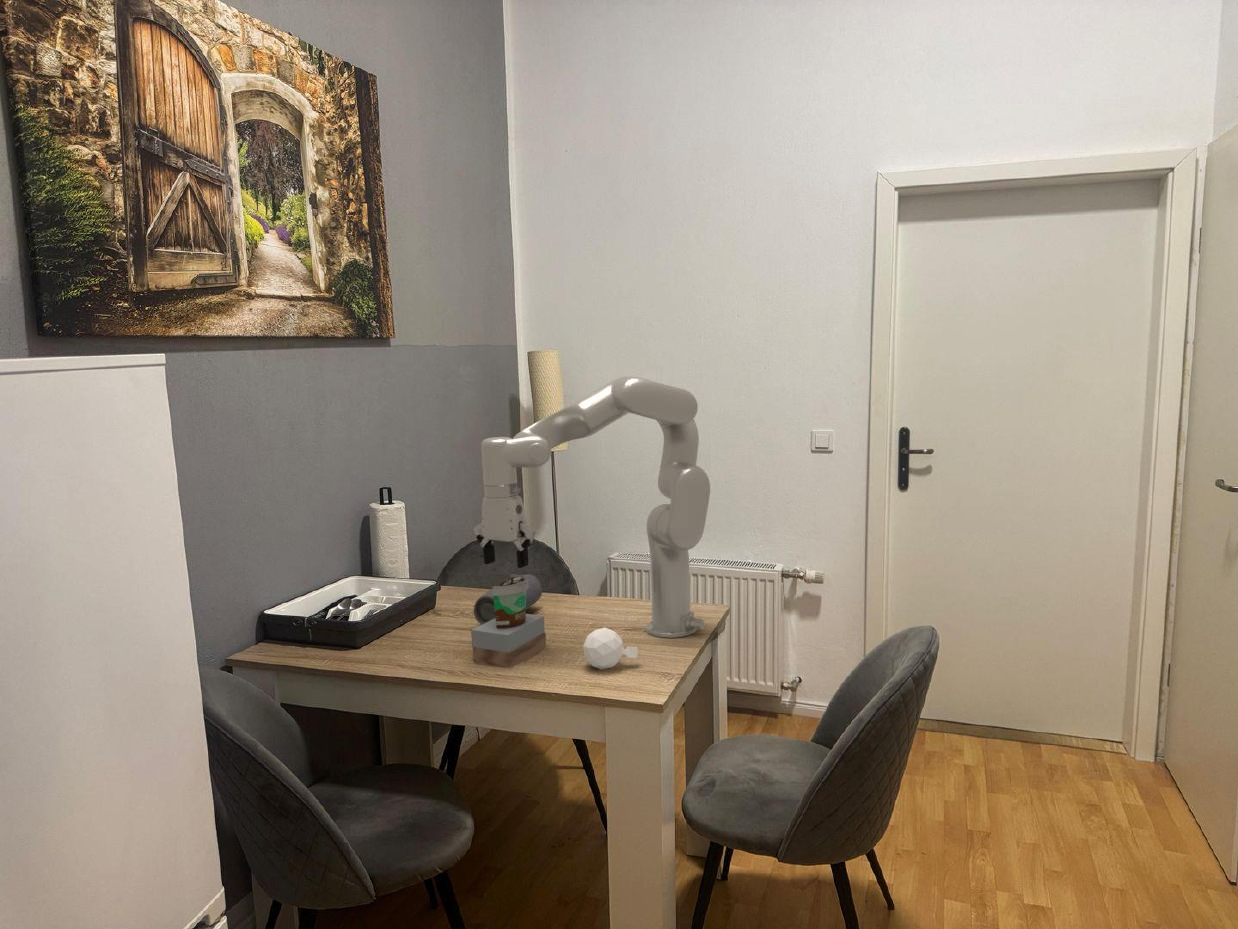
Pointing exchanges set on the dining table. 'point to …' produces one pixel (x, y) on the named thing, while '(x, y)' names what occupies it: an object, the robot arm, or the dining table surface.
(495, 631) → the grey slab
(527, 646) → the walnut slab
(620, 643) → the perfume bottle
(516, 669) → the dining table surface
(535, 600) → the bluetooth speaker
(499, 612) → the food container
